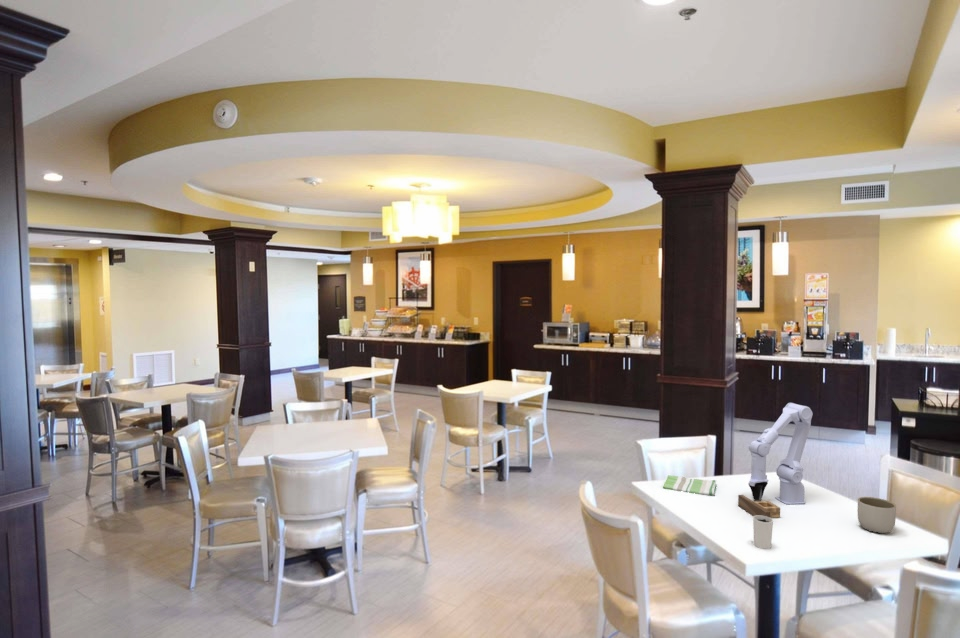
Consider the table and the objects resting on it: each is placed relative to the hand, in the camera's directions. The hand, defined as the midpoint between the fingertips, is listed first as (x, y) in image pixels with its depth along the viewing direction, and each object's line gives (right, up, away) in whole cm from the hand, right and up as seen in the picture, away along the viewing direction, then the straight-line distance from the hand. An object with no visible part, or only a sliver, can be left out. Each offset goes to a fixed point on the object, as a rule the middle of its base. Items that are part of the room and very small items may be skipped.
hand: (757, 498), depth 250 cm
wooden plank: (-8, -3, -13) cm, 15 cm away
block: (-3, -3, -12) cm, 13 cm away
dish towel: (-22, -2, +21) cm, 31 cm away
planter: (+34, -4, -27) cm, 43 cm away
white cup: (-19, -4, -42) cm, 46 cm away
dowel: (0, -2, 0) cm, 2 cm away
